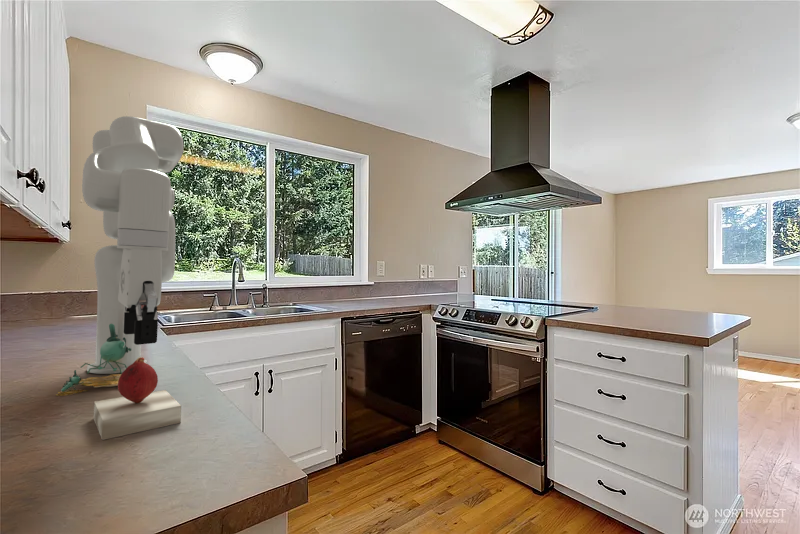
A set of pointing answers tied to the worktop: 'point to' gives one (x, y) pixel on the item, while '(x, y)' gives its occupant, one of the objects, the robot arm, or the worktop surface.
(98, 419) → the white rectangular block
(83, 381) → the frog figurine
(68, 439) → the worktop surface
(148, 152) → the robot arm
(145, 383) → the onion
